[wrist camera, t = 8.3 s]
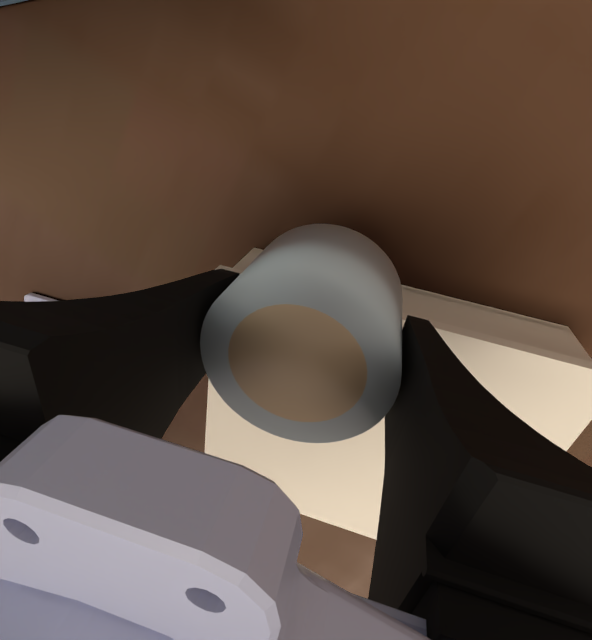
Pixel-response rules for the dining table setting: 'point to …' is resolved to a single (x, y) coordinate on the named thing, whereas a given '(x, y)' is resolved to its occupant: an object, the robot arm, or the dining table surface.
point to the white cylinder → (309, 336)
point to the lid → (369, 447)
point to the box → (479, 318)
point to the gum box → (9, 2)
